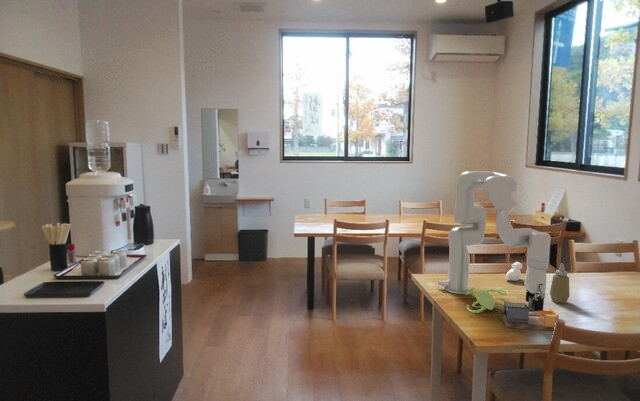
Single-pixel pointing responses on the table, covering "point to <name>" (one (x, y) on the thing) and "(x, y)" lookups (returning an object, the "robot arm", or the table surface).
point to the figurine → (485, 299)
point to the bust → (514, 272)
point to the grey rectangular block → (531, 308)
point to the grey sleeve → (516, 313)
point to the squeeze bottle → (560, 286)
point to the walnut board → (529, 325)
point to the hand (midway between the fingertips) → (533, 305)
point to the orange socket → (548, 317)
